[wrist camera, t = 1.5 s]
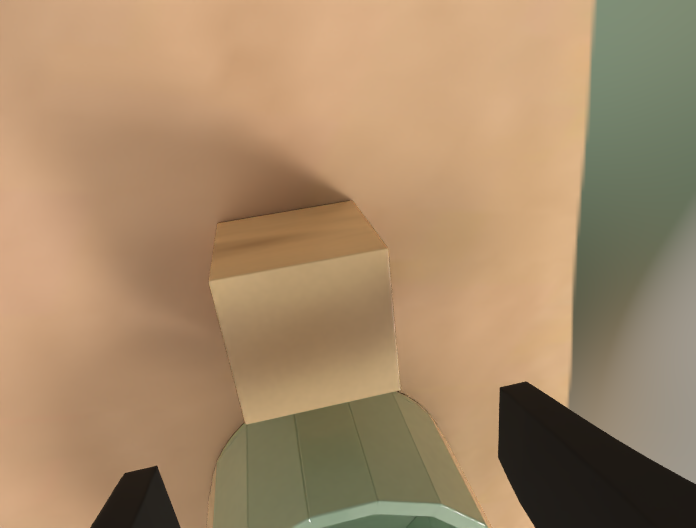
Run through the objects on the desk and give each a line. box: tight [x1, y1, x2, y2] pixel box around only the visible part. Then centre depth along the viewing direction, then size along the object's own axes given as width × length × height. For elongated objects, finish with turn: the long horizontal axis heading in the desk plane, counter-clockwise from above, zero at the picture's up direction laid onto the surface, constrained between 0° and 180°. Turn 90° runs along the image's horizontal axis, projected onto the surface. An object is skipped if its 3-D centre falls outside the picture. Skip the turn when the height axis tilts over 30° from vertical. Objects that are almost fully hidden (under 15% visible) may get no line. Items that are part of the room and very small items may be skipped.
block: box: [208, 200, 401, 424], centre depth 17 cm, size 5×5×5 cm
